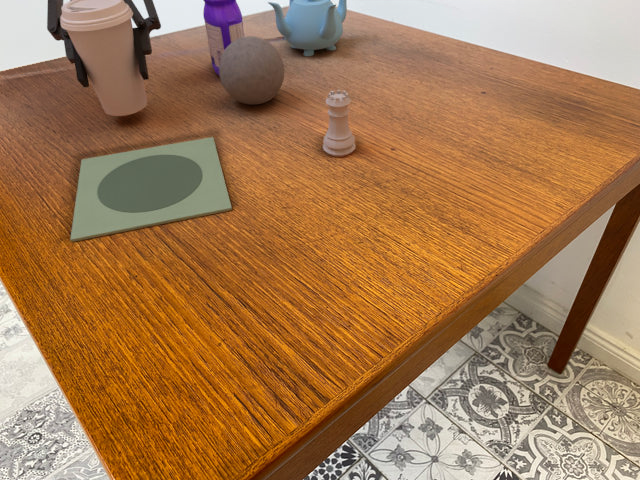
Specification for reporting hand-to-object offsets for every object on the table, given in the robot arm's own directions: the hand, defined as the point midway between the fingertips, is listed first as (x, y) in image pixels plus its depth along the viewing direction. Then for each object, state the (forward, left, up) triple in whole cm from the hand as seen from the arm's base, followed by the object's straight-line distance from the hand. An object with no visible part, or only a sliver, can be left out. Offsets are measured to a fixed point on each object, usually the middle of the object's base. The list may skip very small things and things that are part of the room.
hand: (114, 79), depth 73 cm
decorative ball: (-2, +20, -8) cm, 21 cm away
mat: (+17, +3, -8) cm, 19 cm away
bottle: (-15, +18, -8) cm, 25 cm away
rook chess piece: (+17, +28, -8) cm, 34 cm away
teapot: (-22, +35, -8) cm, 42 cm away
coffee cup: (-4, 0, -6) cm, 7 cm away
